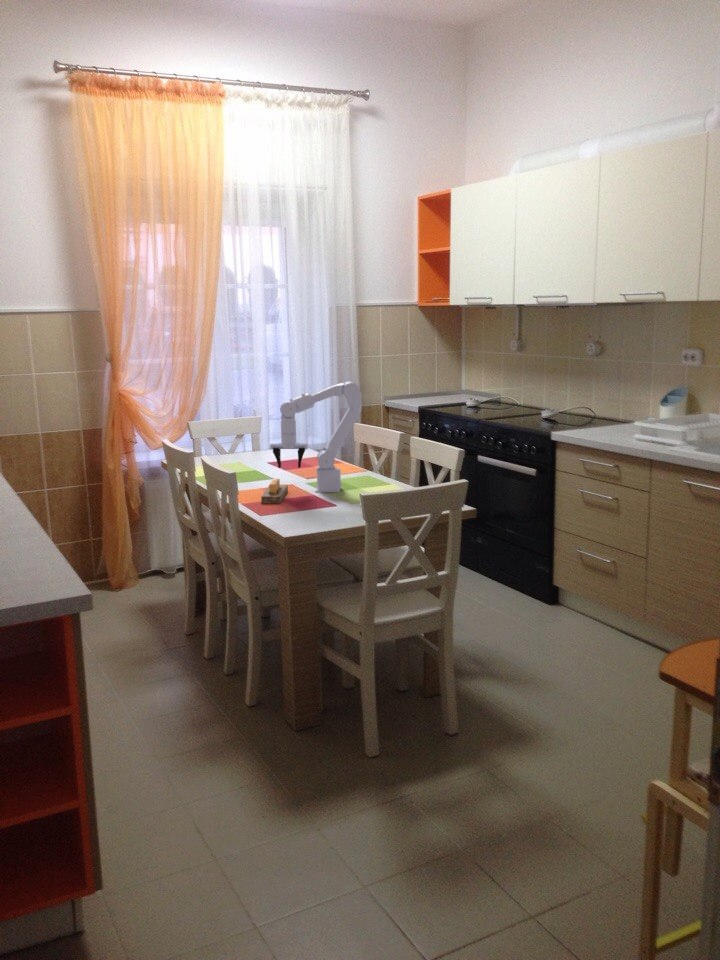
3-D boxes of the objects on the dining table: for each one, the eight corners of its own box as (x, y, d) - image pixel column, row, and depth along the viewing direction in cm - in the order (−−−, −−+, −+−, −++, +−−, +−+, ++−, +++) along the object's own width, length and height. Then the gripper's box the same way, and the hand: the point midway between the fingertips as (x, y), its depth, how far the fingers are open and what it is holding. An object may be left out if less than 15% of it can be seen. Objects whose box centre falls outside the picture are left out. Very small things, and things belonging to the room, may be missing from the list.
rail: (287, 490, 324) (287, 484, 323) (280, 503, 304) (280, 496, 303) (269, 490, 324) (269, 484, 323) (261, 503, 304) (261, 496, 304)
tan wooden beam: (280, 493, 319) (279, 478, 317) (276, 500, 309) (275, 484, 308) (273, 493, 319) (273, 478, 318) (269, 500, 309) (269, 484, 308)
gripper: (268, 434, 315) (269, 469, 318) (306, 434, 314) (307, 469, 317) (271, 431, 322) (272, 465, 325) (308, 431, 321) (309, 465, 324)
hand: (289, 467), depth 321 cm, fingers open, 7 cm apart
